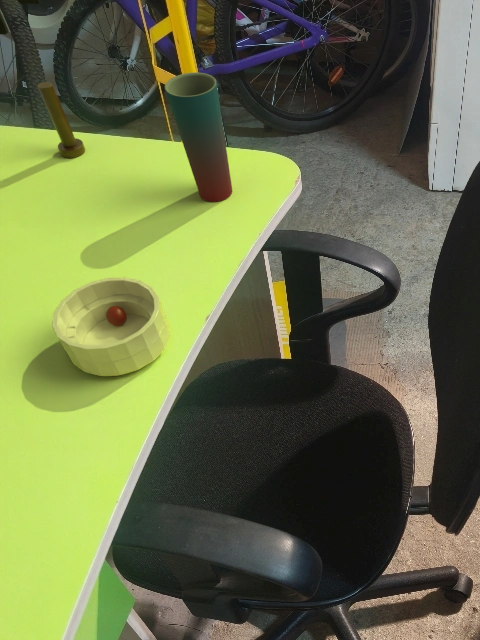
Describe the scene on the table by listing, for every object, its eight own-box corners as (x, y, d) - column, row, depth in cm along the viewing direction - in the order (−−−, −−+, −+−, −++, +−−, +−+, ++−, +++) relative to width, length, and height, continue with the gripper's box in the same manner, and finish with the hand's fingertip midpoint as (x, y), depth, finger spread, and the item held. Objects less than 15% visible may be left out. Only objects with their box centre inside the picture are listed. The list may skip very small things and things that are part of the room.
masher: (56, 157, 96) (26, 90, 88) (66, 144, 98) (38, 78, 90) (79, 159, 96) (51, 91, 87) (89, 146, 98) (62, 79, 89)
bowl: (54, 375, 70) (34, 344, 65) (93, 305, 76) (77, 273, 72) (152, 384, 68) (138, 353, 64) (183, 312, 75) (172, 280, 71)
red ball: (107, 329, 73) (99, 314, 71) (114, 316, 74) (107, 301, 72) (125, 330, 73) (118, 315, 71) (132, 317, 74) (125, 302, 72)
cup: (185, 200, 89) (154, 91, 76) (208, 176, 92) (182, 69, 79) (224, 209, 87) (199, 100, 75) (246, 185, 91) (225, 77, 78)
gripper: (-58, -184, 71) (17, -9, 85) (-142, -143, 62) (-43, 45, 76) (0, -184, 70) (65, -7, 84) (-78, -144, 61) (10, 47, 75)
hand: (14, 17), depth 80 cm, fingers open, 9 cm apart
